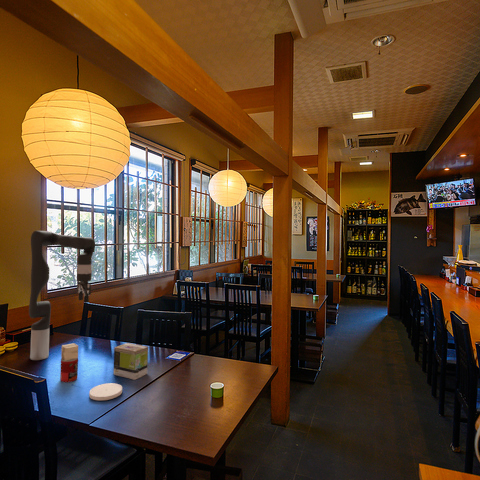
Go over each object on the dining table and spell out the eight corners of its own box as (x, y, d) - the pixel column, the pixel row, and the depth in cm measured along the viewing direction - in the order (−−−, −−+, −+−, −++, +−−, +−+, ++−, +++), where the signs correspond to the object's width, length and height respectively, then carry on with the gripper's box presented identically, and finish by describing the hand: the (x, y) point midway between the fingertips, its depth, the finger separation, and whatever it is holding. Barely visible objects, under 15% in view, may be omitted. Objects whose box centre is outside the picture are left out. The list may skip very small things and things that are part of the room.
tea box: (147, 373, 174) (148, 346, 174) (134, 380, 165) (135, 351, 165) (126, 368, 180) (127, 341, 181) (112, 374, 171) (113, 346, 171)
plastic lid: (124, 398, 147) (124, 392, 147) (90, 405, 140) (91, 399, 140) (119, 386, 159) (119, 381, 159) (87, 392, 152) (88, 386, 152)
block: (61, 357, 164) (61, 345, 165) (73, 354, 169) (74, 343, 169) (65, 360, 160) (65, 348, 160) (77, 357, 164) (78, 346, 164)
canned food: (70, 383, 160) (71, 361, 160) (56, 381, 161) (57, 359, 161) (81, 377, 167) (81, 355, 167) (67, 375, 169) (68, 354, 169)
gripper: (72, 271, 186) (71, 300, 185) (81, 273, 175) (80, 303, 175) (86, 271, 191) (85, 298, 191) (96, 273, 181) (95, 302, 181)
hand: (83, 301), depth 183 cm, fingers open, 8 cm apart
